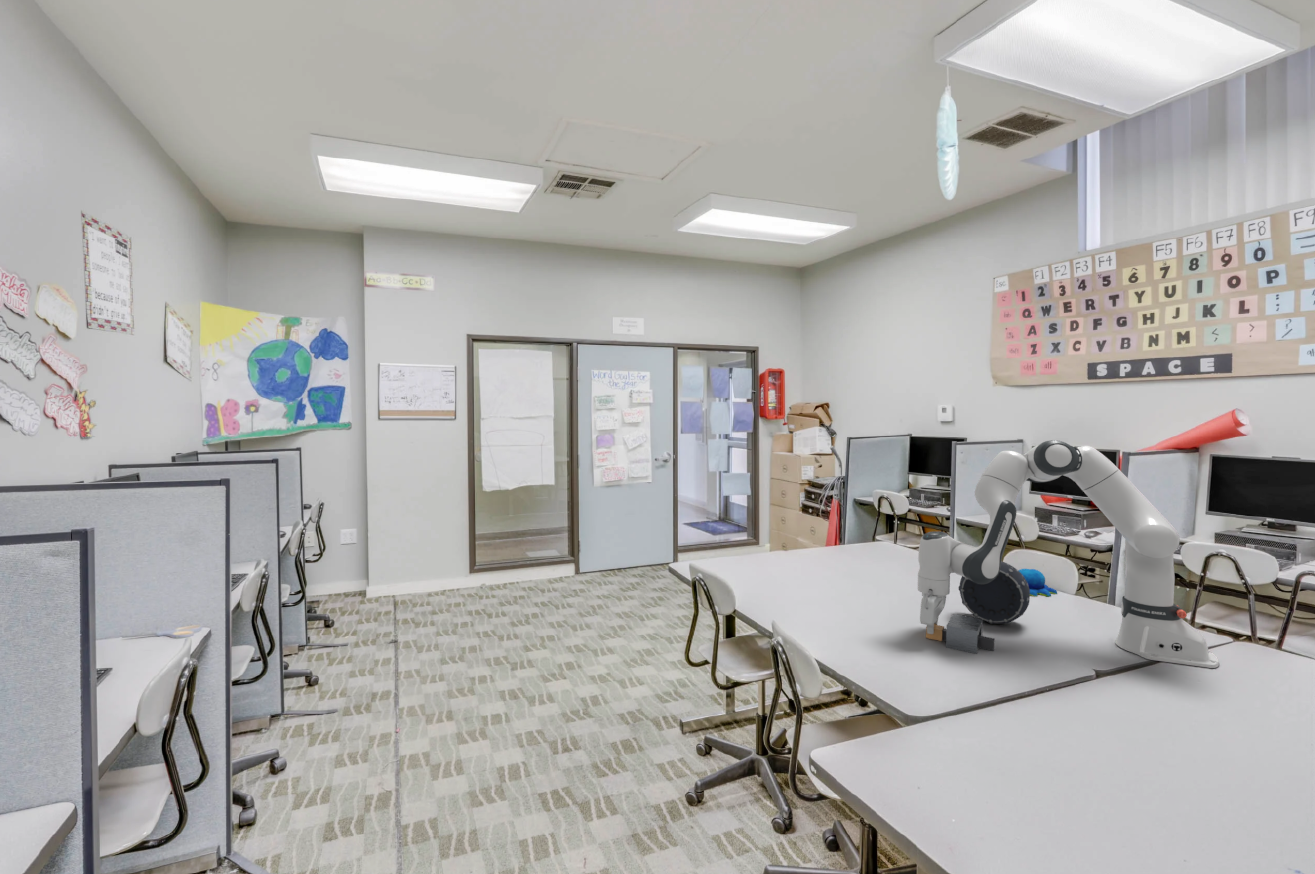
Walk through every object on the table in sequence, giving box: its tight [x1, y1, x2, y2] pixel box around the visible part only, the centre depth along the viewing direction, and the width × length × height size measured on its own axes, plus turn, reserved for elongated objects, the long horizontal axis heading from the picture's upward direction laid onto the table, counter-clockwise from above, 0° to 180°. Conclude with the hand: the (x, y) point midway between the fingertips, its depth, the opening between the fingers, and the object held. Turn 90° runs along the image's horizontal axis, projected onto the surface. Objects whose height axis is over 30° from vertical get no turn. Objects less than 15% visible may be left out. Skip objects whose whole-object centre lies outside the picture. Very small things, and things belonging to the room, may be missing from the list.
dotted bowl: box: [958, 560, 1031, 625], centre depth 196 cm, size 11×20×20 cm, turn 53°
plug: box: [925, 624, 996, 652], centre depth 179 cm, size 18×4×3 cm, turn 56°
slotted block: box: [945, 613, 984, 654], centre depth 178 cm, size 8×12×6 cm, turn 146°
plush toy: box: [1017, 568, 1058, 598], centre depth 231 cm, size 17×17×8 cm
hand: (932, 630), depth 183 cm, fingers closed on plug, 4 cm apart
